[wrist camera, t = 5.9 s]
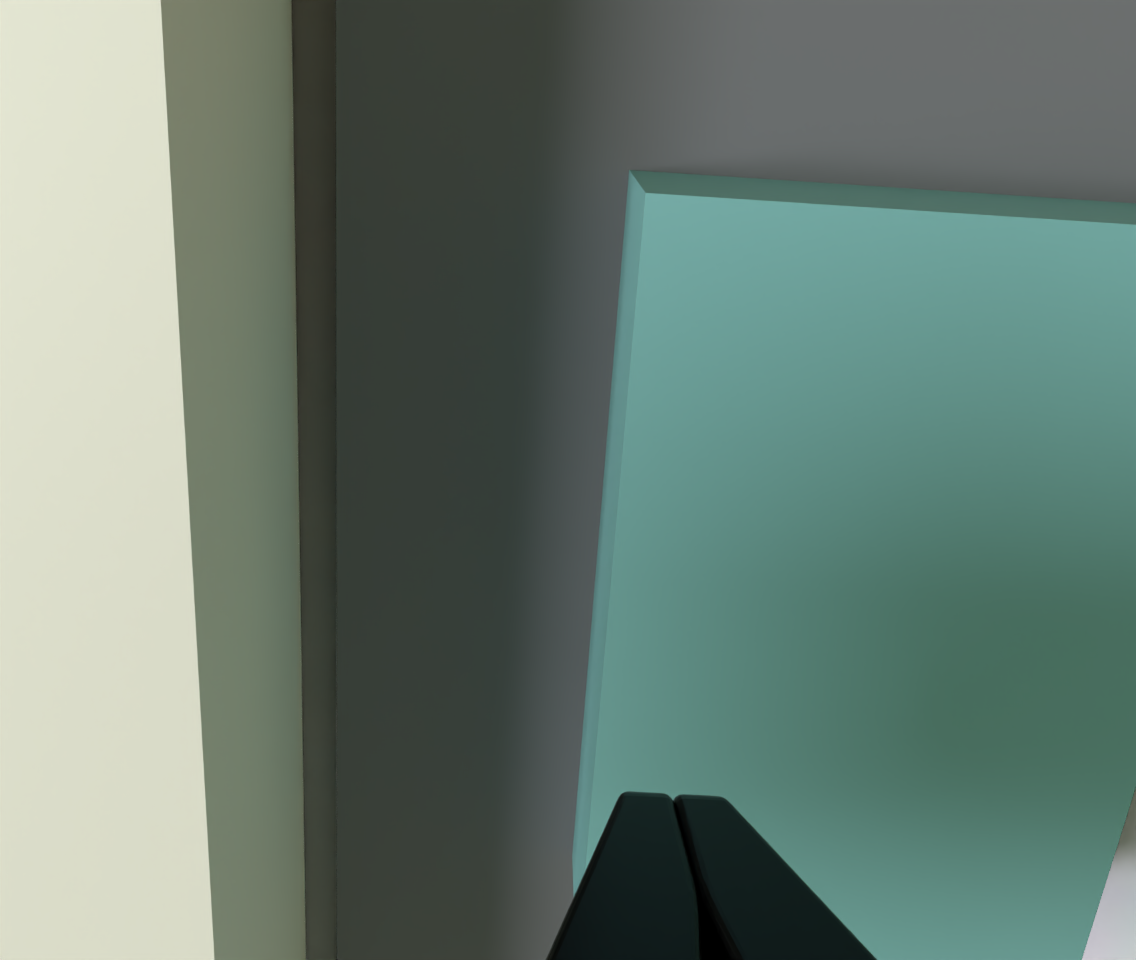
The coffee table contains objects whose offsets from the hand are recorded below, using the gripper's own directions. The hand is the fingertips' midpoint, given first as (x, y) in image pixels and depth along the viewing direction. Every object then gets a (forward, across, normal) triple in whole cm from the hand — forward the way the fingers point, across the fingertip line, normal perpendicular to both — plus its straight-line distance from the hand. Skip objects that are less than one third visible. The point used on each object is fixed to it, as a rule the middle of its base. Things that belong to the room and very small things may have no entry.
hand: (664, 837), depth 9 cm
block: (+3, -3, 0) cm, 4 cm away
